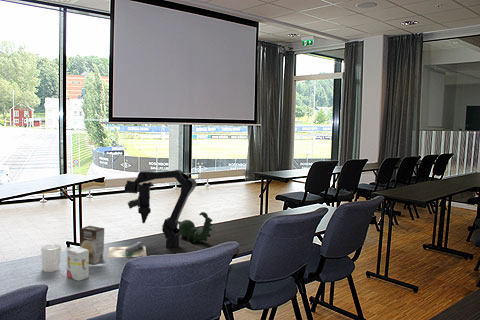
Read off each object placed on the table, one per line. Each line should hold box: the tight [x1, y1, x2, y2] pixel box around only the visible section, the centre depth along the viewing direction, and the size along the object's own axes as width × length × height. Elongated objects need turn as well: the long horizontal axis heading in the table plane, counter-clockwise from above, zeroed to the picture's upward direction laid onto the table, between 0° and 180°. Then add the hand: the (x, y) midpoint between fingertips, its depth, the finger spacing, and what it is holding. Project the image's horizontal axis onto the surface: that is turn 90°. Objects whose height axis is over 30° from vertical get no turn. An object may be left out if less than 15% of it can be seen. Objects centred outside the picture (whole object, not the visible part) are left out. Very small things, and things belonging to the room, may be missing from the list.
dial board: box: [107, 245, 147, 259], centre depth 204 cm, size 18×17×1 cm
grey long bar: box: [125, 241, 144, 255], centre depth 204 cm, size 14×4×3 cm, turn 165°
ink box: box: [66, 246, 90, 281], centre depth 170 cm, size 9×5×12 cm, turn 55°
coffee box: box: [79, 225, 105, 266], centre depth 189 cm, size 9×6×16 cm
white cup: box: [40, 243, 62, 273], centre depth 177 cm, size 8×8×10 cm
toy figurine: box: [178, 211, 213, 244], centre depth 232 cm, size 9×19×25 cm
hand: (143, 223), depth 219 cm, fingers closed
